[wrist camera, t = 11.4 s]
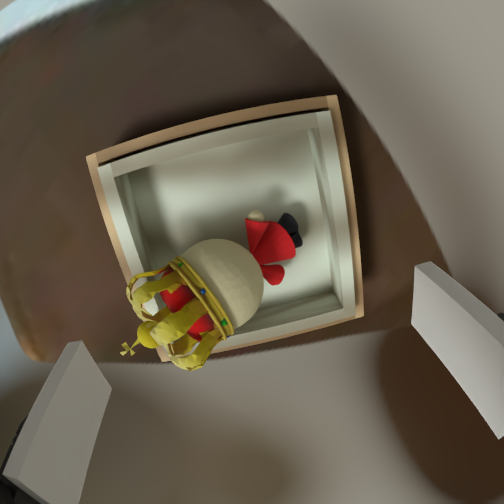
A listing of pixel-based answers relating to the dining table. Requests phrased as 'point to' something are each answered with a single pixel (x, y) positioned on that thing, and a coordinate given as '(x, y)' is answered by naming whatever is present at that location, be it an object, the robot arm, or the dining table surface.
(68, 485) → the robot arm
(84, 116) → the dining table surface
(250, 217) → the toy
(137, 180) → the square wooden tray
